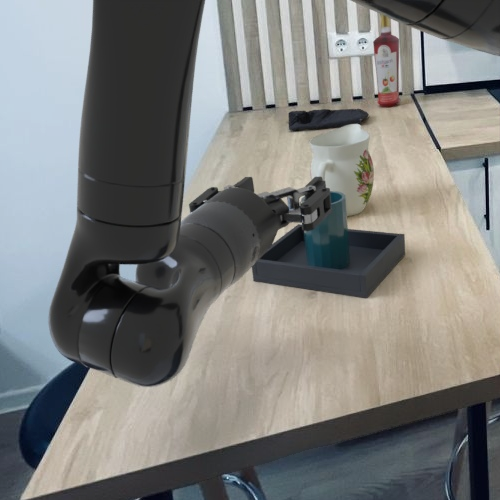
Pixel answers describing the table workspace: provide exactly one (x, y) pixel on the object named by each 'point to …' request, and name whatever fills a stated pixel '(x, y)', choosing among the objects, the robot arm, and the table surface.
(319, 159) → the pitcher
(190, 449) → the table surface
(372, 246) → the tray
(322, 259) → the tumbler
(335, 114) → the folded dark cloth
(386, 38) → the liquor
